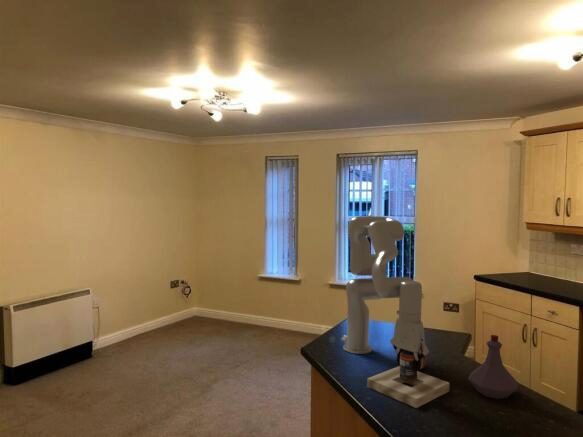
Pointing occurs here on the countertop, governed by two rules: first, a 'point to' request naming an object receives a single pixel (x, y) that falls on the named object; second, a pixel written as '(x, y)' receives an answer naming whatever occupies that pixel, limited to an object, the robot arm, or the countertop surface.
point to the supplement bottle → (407, 366)
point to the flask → (493, 374)
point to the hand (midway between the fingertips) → (408, 367)
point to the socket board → (414, 396)
